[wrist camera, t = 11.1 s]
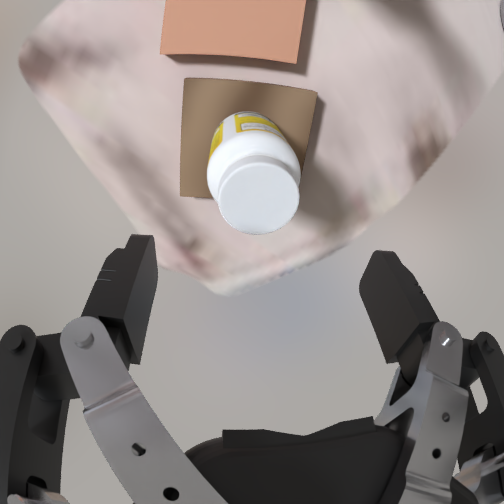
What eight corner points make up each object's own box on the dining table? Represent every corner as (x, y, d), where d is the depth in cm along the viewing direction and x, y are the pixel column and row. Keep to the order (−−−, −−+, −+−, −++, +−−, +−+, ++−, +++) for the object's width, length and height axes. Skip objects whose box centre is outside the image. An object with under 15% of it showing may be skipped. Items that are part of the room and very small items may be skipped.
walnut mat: (312, 90, 20) (317, 92, 19) (291, 196, 26) (295, 204, 25) (187, 77, 19) (184, 78, 18) (182, 188, 25) (180, 196, 24)
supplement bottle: (233, 185, 24) (236, 261, 16) (199, 131, 20) (179, 182, 13) (292, 156, 22) (328, 219, 15) (262, 98, 19) (285, 126, 11)
